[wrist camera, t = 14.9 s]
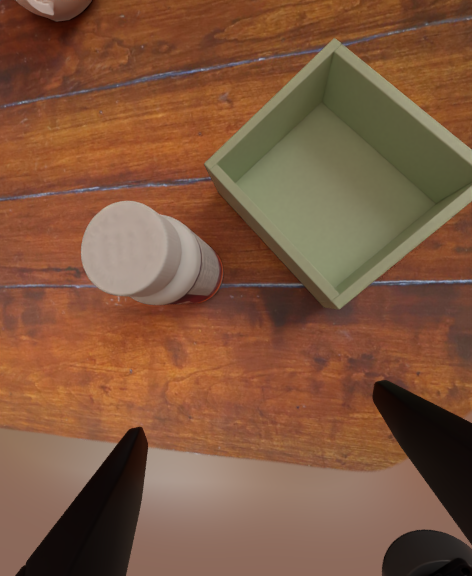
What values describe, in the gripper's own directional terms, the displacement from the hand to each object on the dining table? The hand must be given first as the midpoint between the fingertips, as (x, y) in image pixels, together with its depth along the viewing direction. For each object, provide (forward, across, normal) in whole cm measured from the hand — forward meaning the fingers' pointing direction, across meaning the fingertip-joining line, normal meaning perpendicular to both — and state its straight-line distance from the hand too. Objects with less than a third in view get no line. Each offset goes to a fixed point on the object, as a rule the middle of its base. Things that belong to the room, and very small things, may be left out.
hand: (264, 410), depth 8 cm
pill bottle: (+16, +3, -1) cm, 17 cm away
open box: (+15, -10, -7) cm, 20 cm away
